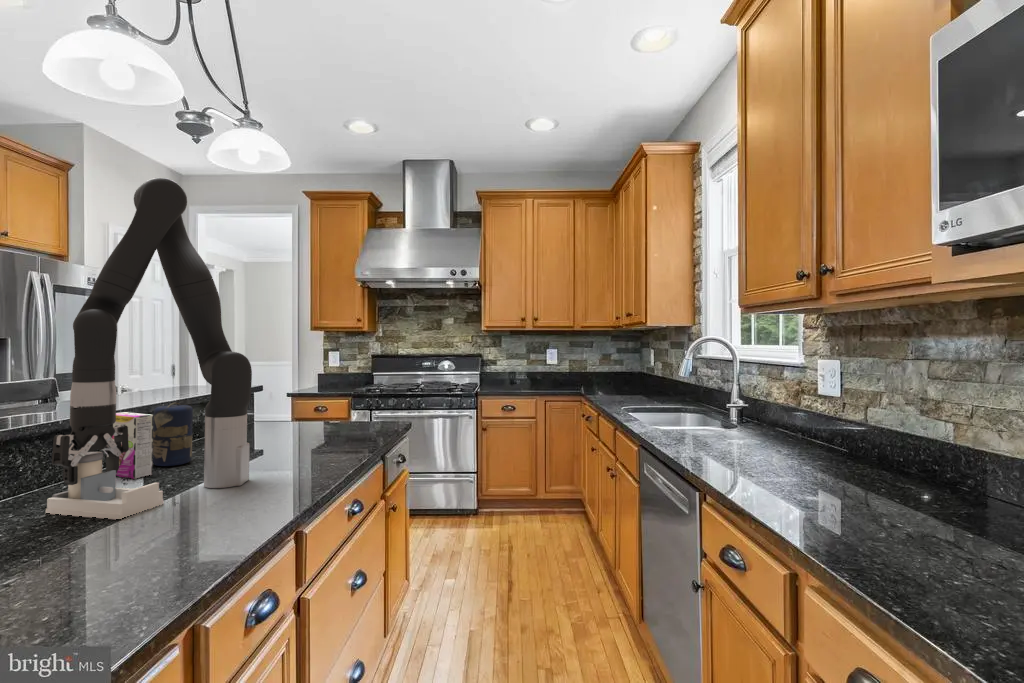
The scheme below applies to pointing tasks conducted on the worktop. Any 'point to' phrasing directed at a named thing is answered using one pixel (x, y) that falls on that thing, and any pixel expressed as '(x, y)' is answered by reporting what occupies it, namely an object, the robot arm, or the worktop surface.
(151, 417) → the candy bar box
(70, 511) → the cream shallow rectangular tray
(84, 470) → the jar
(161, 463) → the canister
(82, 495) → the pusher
